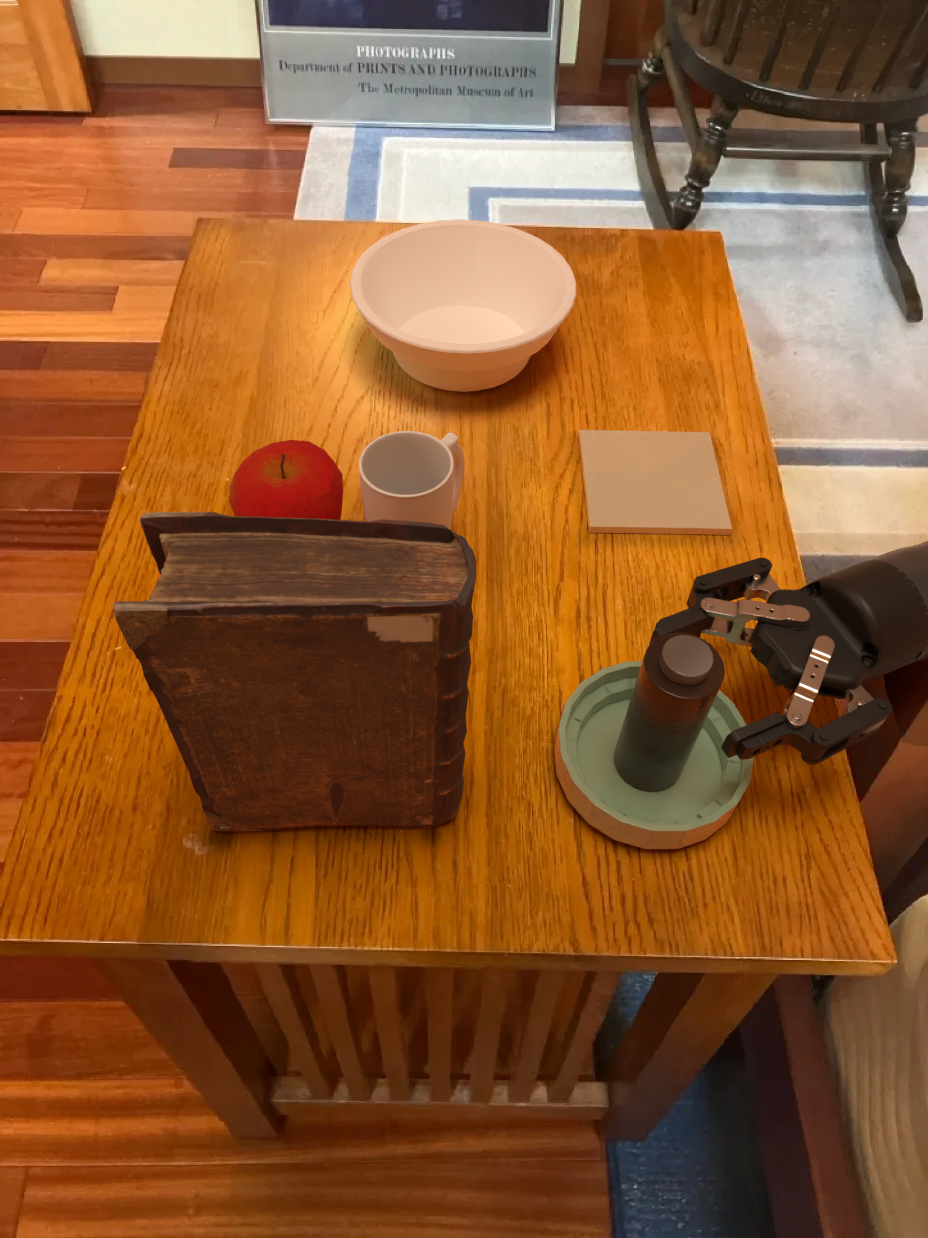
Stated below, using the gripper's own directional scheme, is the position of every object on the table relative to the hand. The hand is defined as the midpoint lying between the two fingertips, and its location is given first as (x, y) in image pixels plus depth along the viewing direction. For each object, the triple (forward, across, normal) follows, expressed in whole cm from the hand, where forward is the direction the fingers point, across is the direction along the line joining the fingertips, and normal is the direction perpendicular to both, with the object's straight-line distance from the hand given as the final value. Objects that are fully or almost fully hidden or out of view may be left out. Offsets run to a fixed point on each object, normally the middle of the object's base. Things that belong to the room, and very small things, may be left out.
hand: (689, 692), depth 59 cm
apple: (+18, -28, +9) cm, 34 cm away
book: (+22, -6, +9) cm, 24 cm away
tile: (-14, -24, +9) cm, 29 cm away
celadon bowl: (+1, 0, +8) cm, 9 cm away
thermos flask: (+1, 0, +8) cm, 8 cm away
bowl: (-6, -47, +9) cm, 48 cm away
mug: (+8, -24, +9) cm, 27 cm away
